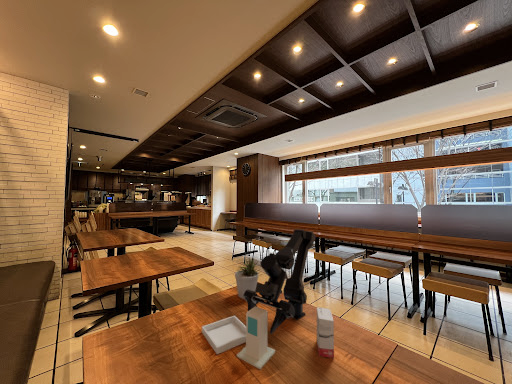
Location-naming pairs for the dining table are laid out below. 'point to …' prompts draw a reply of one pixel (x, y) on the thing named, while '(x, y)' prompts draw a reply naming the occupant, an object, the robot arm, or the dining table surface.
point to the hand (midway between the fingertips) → (258, 328)
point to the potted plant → (246, 278)
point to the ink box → (325, 332)
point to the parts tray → (225, 334)
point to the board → (255, 362)
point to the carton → (256, 332)
